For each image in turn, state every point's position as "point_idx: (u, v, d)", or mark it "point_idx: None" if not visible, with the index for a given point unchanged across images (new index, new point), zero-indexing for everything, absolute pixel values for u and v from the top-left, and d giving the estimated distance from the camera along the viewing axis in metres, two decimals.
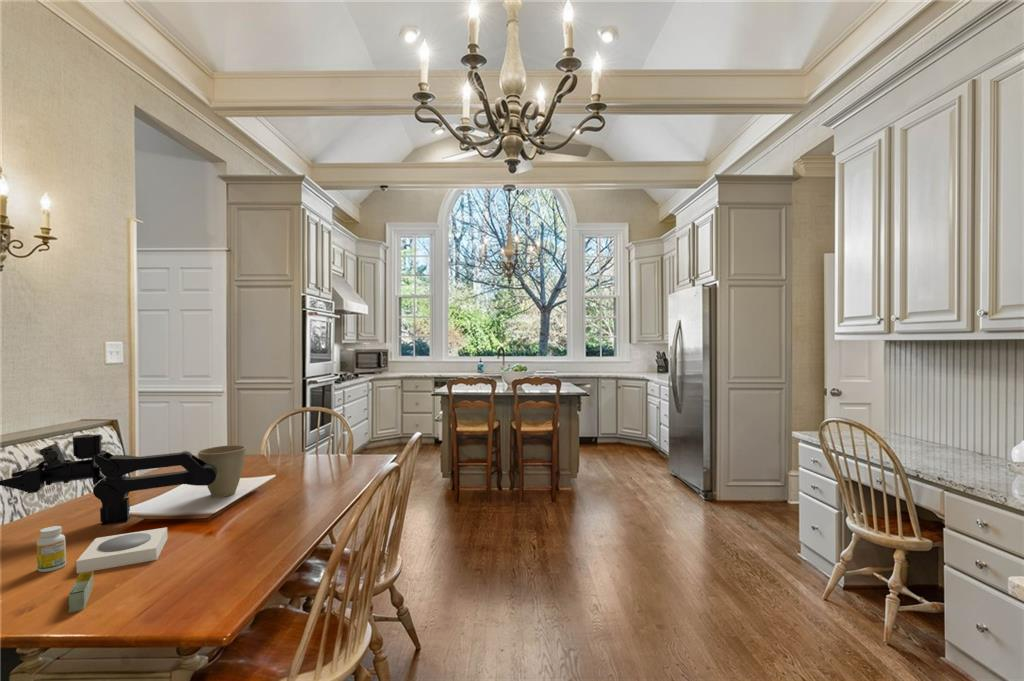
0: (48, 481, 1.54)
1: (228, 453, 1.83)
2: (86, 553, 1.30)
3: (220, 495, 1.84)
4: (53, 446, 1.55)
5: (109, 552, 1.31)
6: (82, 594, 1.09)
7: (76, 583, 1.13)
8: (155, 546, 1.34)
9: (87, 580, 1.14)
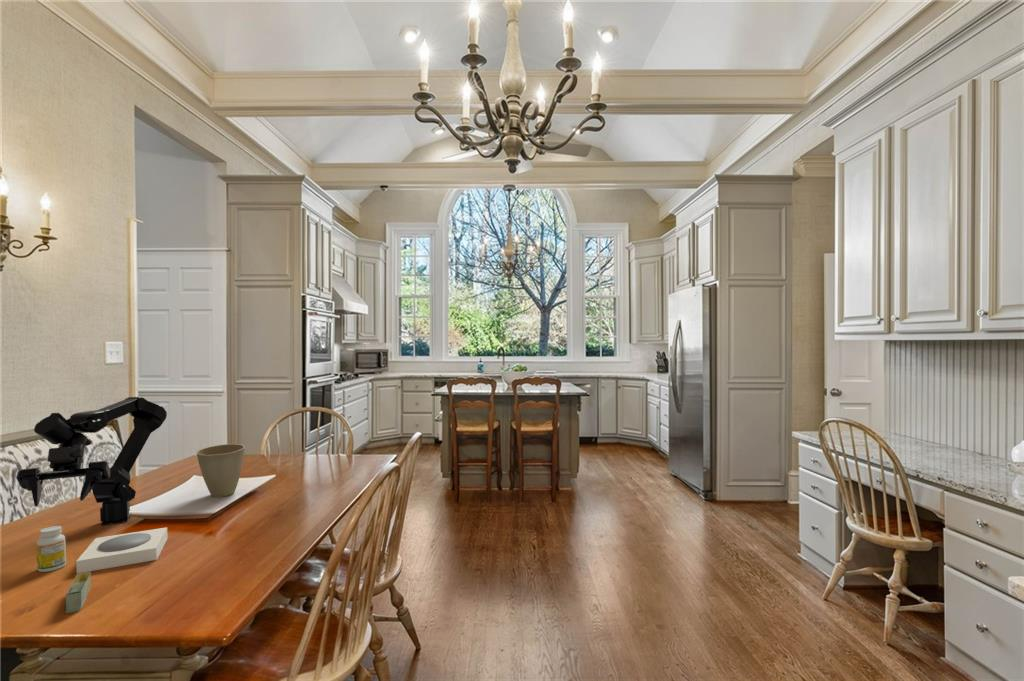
0: None
1: (227, 454, 1.82)
2: (86, 553, 1.30)
3: (219, 495, 1.84)
4: None
5: (109, 552, 1.31)
6: (79, 595, 1.09)
7: (73, 584, 1.13)
8: (155, 546, 1.34)
9: (84, 581, 1.14)
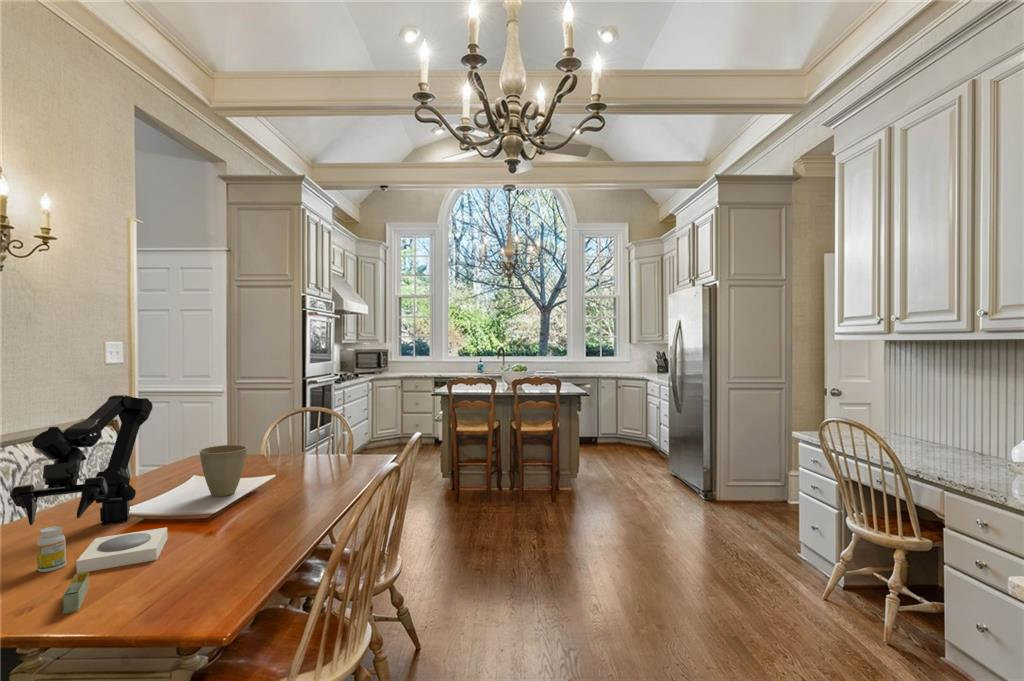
0: None
1: (230, 453, 1.83)
2: (86, 553, 1.30)
3: (220, 495, 1.84)
4: None
5: (109, 552, 1.31)
6: (76, 595, 1.09)
7: (71, 584, 1.12)
8: (155, 546, 1.34)
9: (82, 581, 1.14)
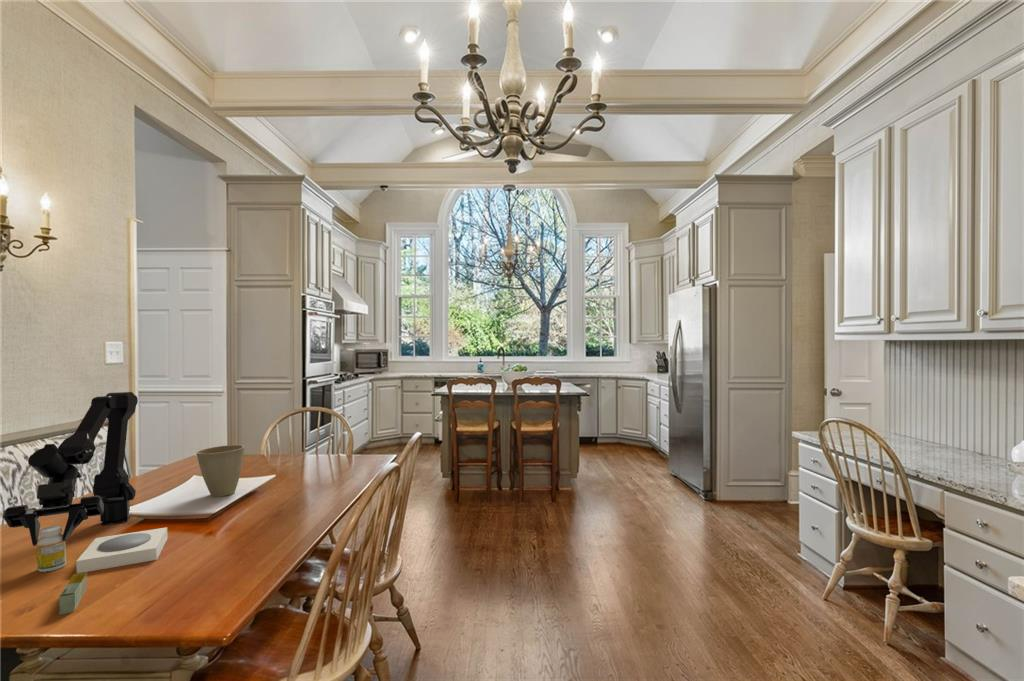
0: None
1: (228, 452, 1.83)
2: (86, 553, 1.30)
3: (220, 495, 1.84)
4: None
5: (109, 552, 1.31)
6: (72, 596, 1.08)
7: (68, 585, 1.12)
8: (155, 546, 1.34)
9: (79, 582, 1.14)
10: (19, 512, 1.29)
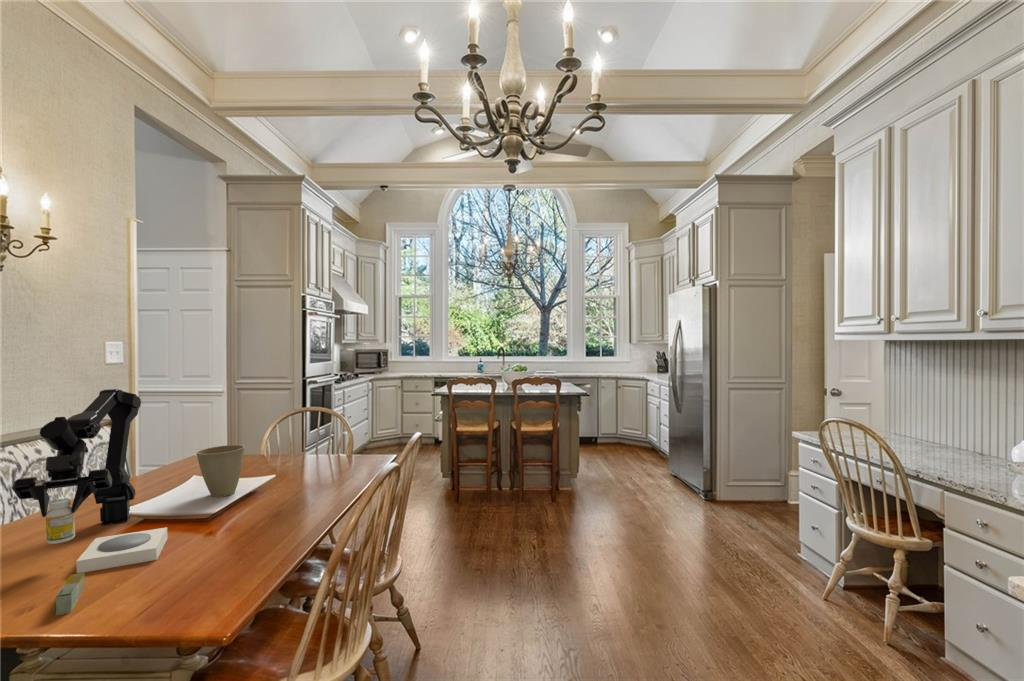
0: None
1: (228, 452, 1.83)
2: (86, 553, 1.30)
3: (221, 495, 1.84)
4: None
5: (109, 552, 1.31)
6: (69, 597, 1.08)
7: (65, 585, 1.12)
8: (155, 546, 1.34)
9: (76, 582, 1.13)
10: (28, 484, 1.30)
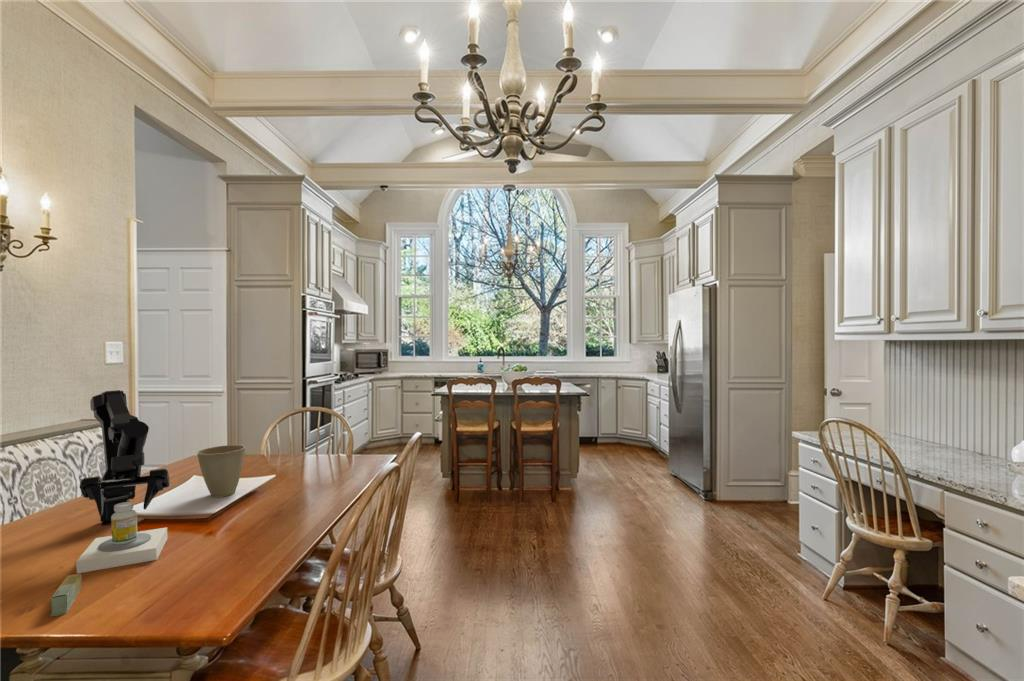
0: None
1: (229, 453, 1.83)
2: (86, 553, 1.30)
3: (221, 495, 1.84)
4: None
5: (109, 552, 1.31)
6: (65, 598, 1.08)
7: (61, 586, 1.12)
8: (155, 546, 1.34)
9: (72, 583, 1.13)
10: (94, 483, 1.35)
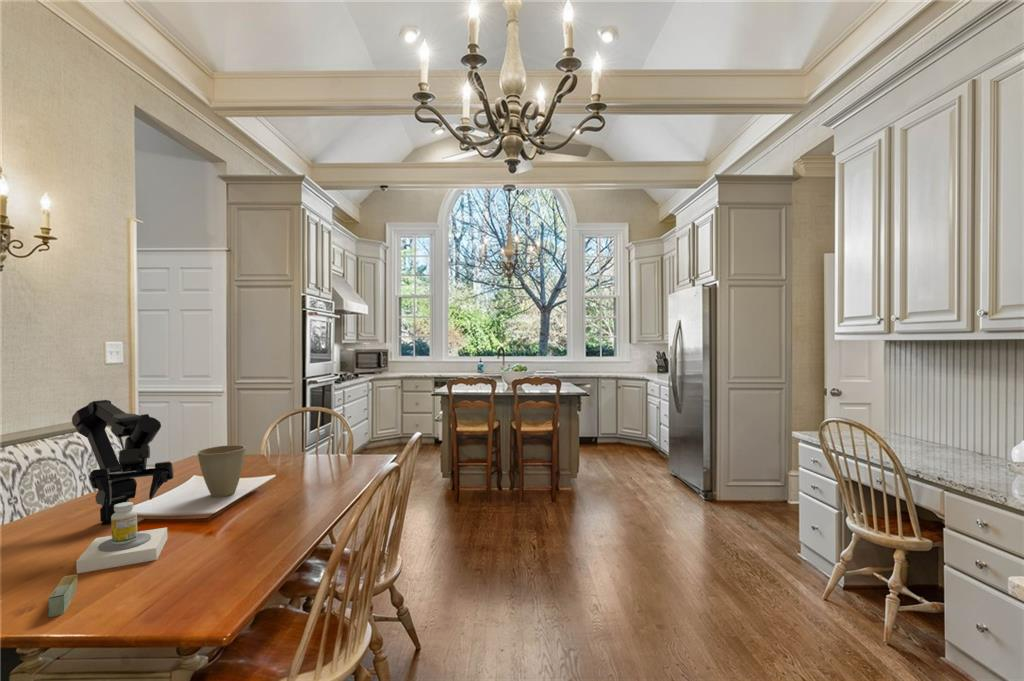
0: None
1: (230, 453, 1.83)
2: (86, 553, 1.30)
3: (221, 495, 1.84)
4: None
5: (109, 552, 1.31)
6: (62, 598, 1.07)
7: (58, 587, 1.11)
8: (155, 546, 1.34)
9: (69, 584, 1.13)
10: (103, 474, 1.44)
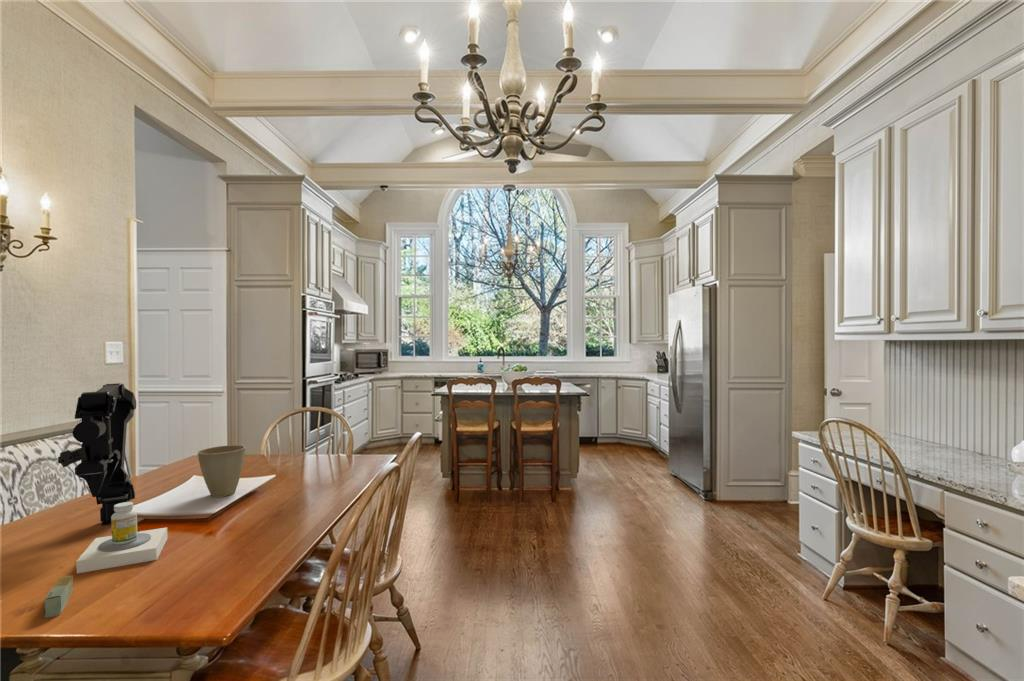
0: (103, 457, 1.46)
1: (230, 453, 1.83)
2: (86, 553, 1.30)
3: (221, 495, 1.84)
4: None
5: (109, 552, 1.31)
6: (58, 599, 1.07)
7: (54, 588, 1.11)
8: (155, 546, 1.34)
9: (65, 584, 1.12)
10: None
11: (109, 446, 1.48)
